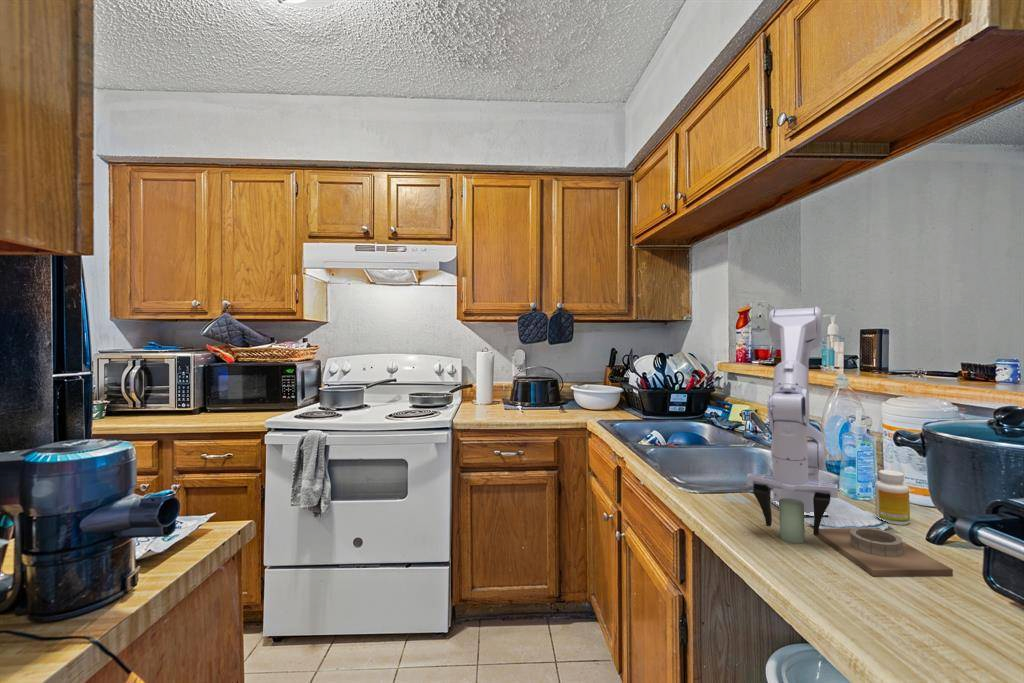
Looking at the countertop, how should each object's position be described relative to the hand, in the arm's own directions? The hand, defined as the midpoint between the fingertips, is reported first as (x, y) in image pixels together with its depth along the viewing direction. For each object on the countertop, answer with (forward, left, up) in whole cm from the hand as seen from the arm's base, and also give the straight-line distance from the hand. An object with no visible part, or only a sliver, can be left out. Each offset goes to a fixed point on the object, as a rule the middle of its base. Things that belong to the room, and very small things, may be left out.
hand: (792, 528), depth 88 cm
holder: (+6, +11, -2) cm, 13 cm away
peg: (0, 0, -2) cm, 2 cm away
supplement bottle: (-8, +24, -2) cm, 25 cm away
